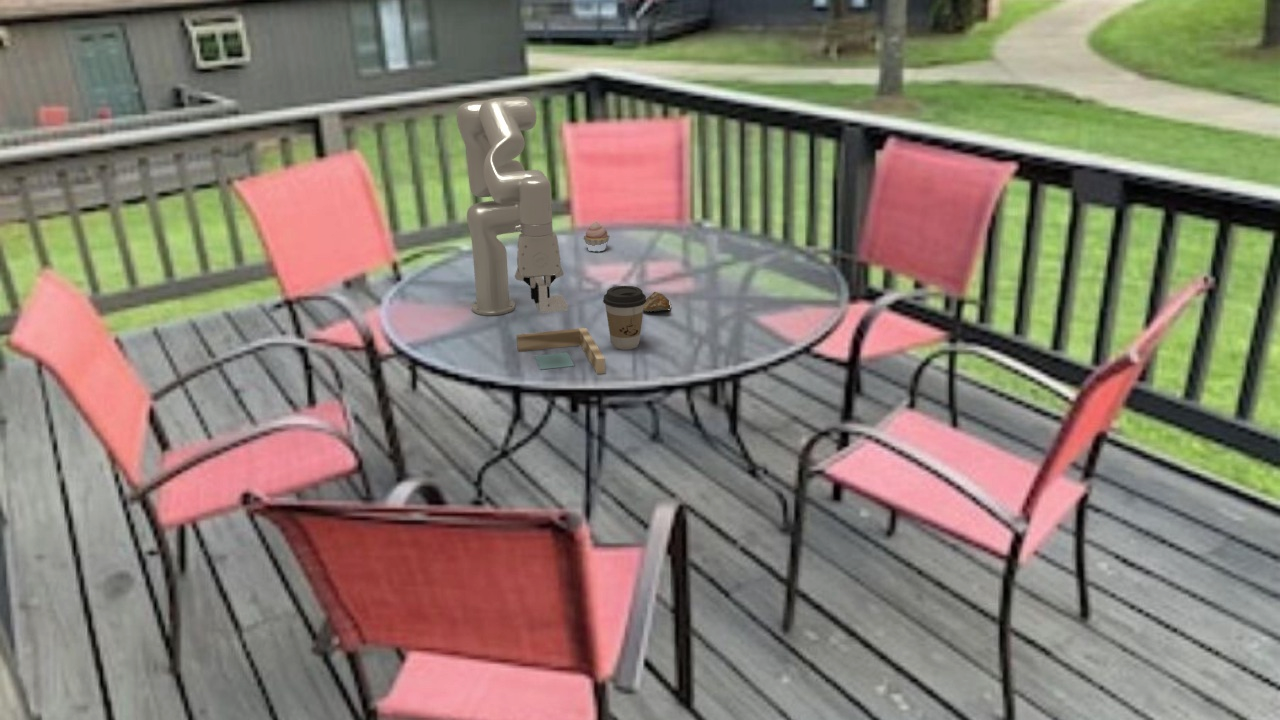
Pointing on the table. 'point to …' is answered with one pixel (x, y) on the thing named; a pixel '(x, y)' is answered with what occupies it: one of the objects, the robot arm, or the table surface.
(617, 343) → the coffee cup
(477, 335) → the table surface
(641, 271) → the table surface
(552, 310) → the bracket
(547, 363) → the teal square plate
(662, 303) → the pie slice
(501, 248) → the robot arm
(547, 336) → the wooden l-shaped piece
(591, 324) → the table surface
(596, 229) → the cupcake
